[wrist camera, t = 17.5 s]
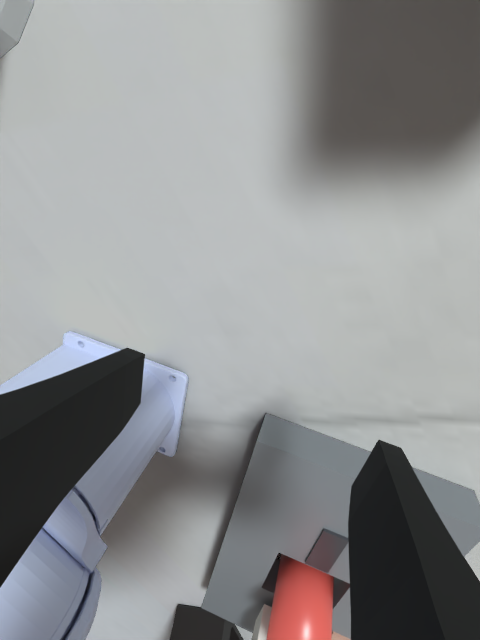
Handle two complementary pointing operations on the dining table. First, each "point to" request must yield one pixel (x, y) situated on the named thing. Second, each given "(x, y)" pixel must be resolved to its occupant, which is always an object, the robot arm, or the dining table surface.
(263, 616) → the lever
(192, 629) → the phone stand
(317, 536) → the breaker panel
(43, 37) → the dining table surface
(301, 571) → the pin
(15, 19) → the french press
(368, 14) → the dining table surface
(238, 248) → the dining table surface
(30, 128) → the dining table surface
